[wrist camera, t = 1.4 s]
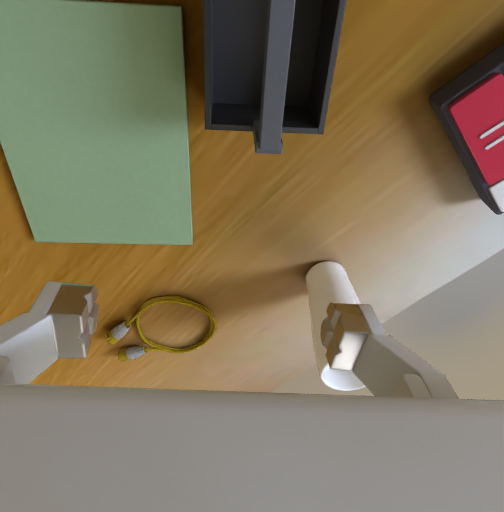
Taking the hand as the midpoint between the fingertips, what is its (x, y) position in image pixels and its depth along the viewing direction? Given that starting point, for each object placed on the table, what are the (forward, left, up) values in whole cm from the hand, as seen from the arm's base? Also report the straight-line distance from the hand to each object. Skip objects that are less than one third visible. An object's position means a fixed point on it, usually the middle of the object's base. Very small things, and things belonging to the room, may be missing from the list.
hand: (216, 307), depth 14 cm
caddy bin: (-5, +3, -29) cm, 29 cm away
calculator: (+2, +28, -29) cm, 40 cm away
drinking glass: (+23, +13, -29) cm, 39 cm away
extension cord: (+33, -9, -29) cm, 45 cm away
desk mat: (+6, -13, -29) cm, 32 cm away
